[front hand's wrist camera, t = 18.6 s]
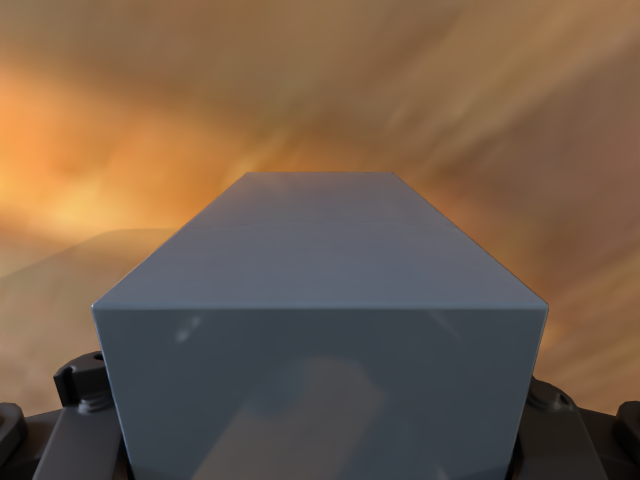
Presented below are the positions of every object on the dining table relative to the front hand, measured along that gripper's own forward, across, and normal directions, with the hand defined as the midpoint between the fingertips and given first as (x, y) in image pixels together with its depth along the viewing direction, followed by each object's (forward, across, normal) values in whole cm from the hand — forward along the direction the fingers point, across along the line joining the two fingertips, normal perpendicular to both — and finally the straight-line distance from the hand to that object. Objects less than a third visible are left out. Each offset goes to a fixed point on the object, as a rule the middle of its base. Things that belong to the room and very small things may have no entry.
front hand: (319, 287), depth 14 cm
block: (+3, 0, 0) cm, 3 cm away
